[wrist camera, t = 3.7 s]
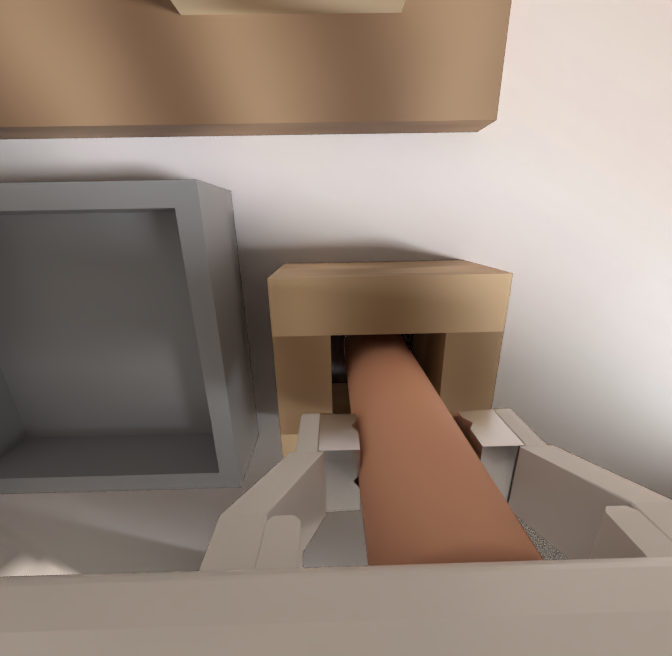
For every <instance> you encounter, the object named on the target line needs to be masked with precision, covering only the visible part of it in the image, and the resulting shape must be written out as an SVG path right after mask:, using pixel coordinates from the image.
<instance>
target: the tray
mask: <svg viewBox="0 0 672 656" xmlns="http://www.w3.org/2000/svg"><path fill="white" fill-rule="evenodd" d="M258 435H259V434H258V425H257V417H256V408H255V399H254V390H253V382H252V373H251V364H250V355H249V346H248V338H247V329H246V320H245V311H244V303H243V294H242V285H241V276H240V268H239V259H238V250H237V241H236V232H235V224H234V215H233V206H232V197H231V191H229V190H226V189H223V188H220V187H217V186H214V185H211V184H208V183H205V182H202V181H199V180H141V181H82V182H23V183H0V494H21V493H57V492H92V491H128V490H164V489H200V488H236V487H241V485H242V482H243V479H244V477H245V474H246V471H247V468H248V465H249V462H250V459H251V456H252V453H253V450H254V447H255V444H256V441H257V438H258Z"/></svg>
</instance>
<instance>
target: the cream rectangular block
mask: <svg viewBox="0 0 672 656" xmlns="http://www.w3.org/2000/svg"><path fill="white" fill-rule="evenodd" d="M171 2H172V3H173V4H174V6H175V7H176V9H177V10H178V11H179V13H180V14H181V15H243V14H334V13H401V12H402V9H403V6H404V3H405V0H171Z"/></svg>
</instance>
